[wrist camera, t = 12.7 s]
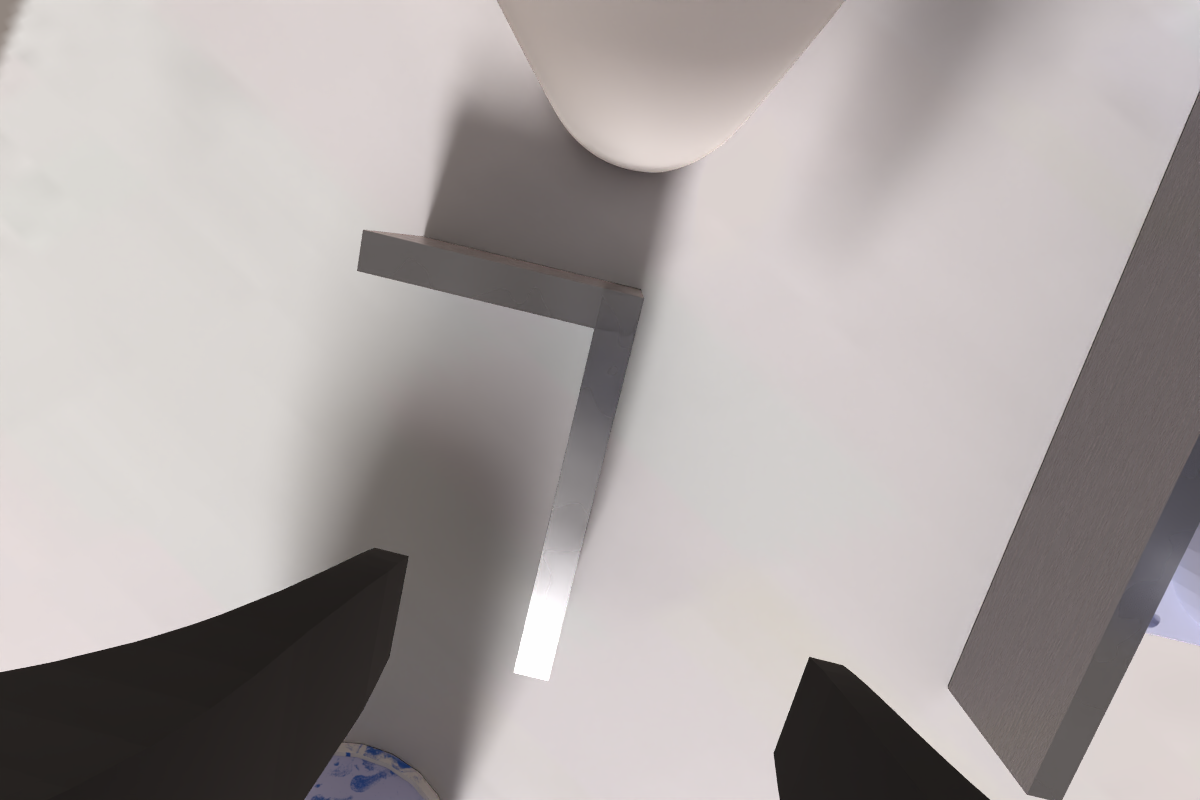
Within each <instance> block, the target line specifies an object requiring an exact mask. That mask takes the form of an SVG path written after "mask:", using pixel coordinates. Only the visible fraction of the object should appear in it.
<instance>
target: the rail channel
mask: <svg viewBox="0 0 1200 800" xmlns="http://www.w3.org/2000/svg"><path fill="white" fill-rule="evenodd" d="M357 271H360V272H364V273H368V274H372V275H377V276H381V277H385V278H389V279H393V280H397V281H401V282H405V283H410V284H414V285H418V286H422V287H426V288H430V289H434V290H438V291H443V292H447V293H451V294H455V295H459V296H463V297H467V298H471V299H476V300H480V301H484V302H488V303H492V304H496V305H500V306H504V307H509V308H513V309H517V310H521V311H525V312H529V313H533V314H537V315H542V316H546V317H550V318H554V319H558V320H562V321H566V322H570V323H575V324H579V325H583V326H587V327H591V328H595V329H594V333H593V338H592V342H591V346H590V350H589V355H588V359H587V363H586V367H585V372H584V376H583V380H582V384H581V389H580V393H579V397H578V401H577V406H576V410H575V414H574V418H573V423H572V427H571V431H570V435H569V440H568V444H567V448H566V452H565V457H564V461H563V465H562V469H561V474H560V478H559V482H558V486H557V491H556V495H555V499H554V503H553V508H552V512H551V516H550V521H549V525H548V529H547V533H546V538H545V542H544V546H543V550H542V555H541V559H540V563H539V567H538V572H537V576H536V580H535V584H534V589H533V593H532V597H531V601H530V606H529V610H528V614H527V618H526V623H525V627H524V631H523V635H522V640H521V644H520V648H519V652H518V657H517V661H516V665H515V669H514V673H518V674H522V675H526V676H530V677H535V678H539V679H543V680H547V681H548V679H549V675H550V671H551V667H552V664H553V660H554V656H555V652H556V648H557V644H558V640H559V636H560V632H561V628H562V624H563V620H564V616H565V612H566V608H567V604H568V600H569V596H570V592H571V588H572V584H573V580H574V576H575V572H576V568H577V564H578V560H579V556H580V552H581V548H582V544H583V540H584V536H585V532H586V528H587V524H588V520H589V516H590V512H591V508H592V504H593V500H594V496H595V492H596V488H597V484H598V480H599V476H600V472H601V468H602V464H603V460H604V456H605V452H606V448H607V444H608V440H609V436H610V432H611V428H612V424H613V420H614V416H615V412H616V408H617V404H618V400H619V396H620V392H621V388H622V384H623V380H624V376H625V372H626V368H627V364H628V360H629V356H630V352H631V348H632V344H633V340H634V336H635V332H636V328H637V324H638V320H639V316H640V312H641V308H642V304H643V300H644V297H643V294H642V291H641V289H637V288H633V287H629V286H625V285H621V284H617V283H612V282H608V281H604V280H600V279H596V278H592V277H588V276H584V275H580V274H575V273H571V272H567V271H563V270H559V269H555V268H551V267H547V266H543V265H538V264H534V263H530V262H526V261H522V260H518V259H514V258H510V257H506V256H501V255H497V254H493V253H489V252H485V251H481V250H477V249H473V248H469V247H464V246H460V245H456V244H452V243H448V242H444V241H440V240H436V239H432V238H427V237H423V236H415V235H406V234H397V233H388V232H379V231H370V230H363V234H362V241H361V248H360V255H359V262H358V269H357ZM1199 523H1200V93H1199V96H1198V98H1197V100H1196V103H1195V105H1194V107H1193V110H1192V112H1191V114H1190V117H1189V119H1188V122H1187V124H1186V126H1185V129H1184V131H1183V133H1182V136H1181V138H1180V140H1179V143H1178V145H1177V148H1176V150H1175V152H1174V155H1173V157H1172V159H1171V162H1170V164H1169V166H1168V169H1167V171H1166V174H1165V176H1164V178H1163V181H1162V183H1161V185H1160V188H1159V190H1158V192H1157V195H1156V197H1155V200H1154V202H1153V204H1152V207H1151V209H1150V211H1149V214H1148V216H1147V218H1146V221H1145V223H1144V226H1143V228H1142V230H1141V233H1140V235H1139V237H1138V240H1137V242H1136V244H1135V247H1134V249H1133V252H1132V254H1131V256H1130V259H1129V261H1128V263H1127V266H1126V268H1125V270H1124V273H1123V275H1122V277H1121V280H1120V282H1119V285H1118V287H1117V289H1116V292H1115V294H1114V296H1113V299H1112V301H1111V303H1110V306H1109V308H1108V311H1107V313H1106V315H1105V318H1104V320H1103V322H1102V325H1101V327H1100V329H1099V332H1098V334H1097V337H1096V339H1095V341H1094V344H1093V346H1092V348H1091V351H1090V353H1089V355H1088V358H1087V360H1086V363H1085V365H1084V367H1083V370H1082V372H1081V374H1080V377H1079V379H1078V381H1077V384H1076V386H1075V389H1074V391H1073V393H1072V396H1071V398H1070V400H1069V403H1068V405H1067V407H1066V410H1065V412H1064V415H1063V417H1062V419H1061V422H1060V424H1059V426H1058V429H1057V431H1056V433H1055V436H1054V438H1053V440H1052V443H1051V445H1050V448H1049V450H1048V452H1047V455H1046V457H1045V459H1044V462H1043V464H1042V466H1041V469H1040V471H1039V474H1038V476H1037V478H1036V481H1035V483H1034V485H1033V488H1032V490H1031V492H1030V495H1029V497H1028V500H1027V502H1026V504H1025V507H1024V509H1023V511H1022V514H1021V516H1020V518H1019V521H1018V523H1017V526H1016V528H1015V530H1014V533H1013V535H1012V537H1011V540H1010V542H1009V544H1008V547H1007V549H1006V552H1005V554H1004V556H1003V559H1002V561H1001V563H1000V566H999V568H998V570H997V573H996V575H995V578H994V580H993V582H992V585H991V587H990V589H989V592H988V594H987V596H986V599H985V601H984V603H983V606H982V608H981V611H980V613H979V615H978V618H977V620H976V622H975V625H974V627H973V629H972V632H971V634H970V637H969V639H968V641H967V644H966V646H965V648H964V651H963V653H962V655H961V658H960V660H959V663H958V665H957V667H956V670H955V672H954V674H953V677H952V679H951V681H950V684H949V686H948V689H949V691H950V692H951V693H952V695H953V696H954V697H955V699H956V700H957V701H958V703H959V704H960V705H961V707H962V708H963V709H964V711H965V712H966V713H967V715H968V716H969V717H970V719H971V720H972V722H973V723H974V724H975V726H976V727H977V728H978V730H979V731H980V732H981V734H982V735H983V736H984V738H985V739H986V740H987V742H988V743H989V744H990V746H991V747H992V748H993V750H994V751H995V752H996V754H997V755H998V756H999V758H1000V759H1001V761H1002V762H1003V763H1004V765H1005V766H1006V767H1007V769H1008V770H1009V771H1010V773H1011V774H1012V775H1013V777H1014V778H1015V779H1016V781H1017V782H1018V783H1019V785H1020V786H1021V787H1022V789H1023V790H1024V791H1025V793H1026V794H1027V795H1031V796H1035V797H1039V798H1044V799H1048V800H1062V799H1063V797H1064V795H1065V793H1066V791H1067V789H1068V787H1069V785H1070V783H1071V781H1072V779H1073V777H1074V775H1075V773H1076V771H1077V769H1078V767H1079V765H1080V763H1081V761H1082V759H1083V757H1084V755H1085V753H1086V751H1087V749H1088V747H1089V745H1090V743H1091V741H1092V739H1093V737H1094V735H1095V733H1096V731H1097V729H1098V727H1099V725H1100V722H1101V720H1102V718H1103V716H1104V714H1105V712H1106V710H1107V708H1108V706H1109V704H1110V702H1111V700H1112V698H1113V696H1114V694H1115V692H1116V690H1117V688H1118V686H1119V684H1120V682H1121V680H1122V678H1123V676H1124V674H1125V672H1126V670H1127V668H1128V666H1129V664H1130V662H1131V660H1132V658H1133V656H1134V654H1135V652H1136V650H1137V648H1138V646H1139V644H1140V642H1141V640H1142V638H1143V636H1144V634H1145V632H1146V630H1147V628H1148V626H1149V624H1150V622H1151V620H1152V618H1153V616H1154V614H1155V612H1156V610H1157V608H1158V606H1159V604H1160V602H1161V600H1162V598H1163V596H1164V594H1165V592H1166V590H1167V588H1168V586H1169V583H1170V581H1171V579H1172V577H1173V575H1174V573H1175V571H1176V569H1177V567H1178V565H1179V563H1180V561H1181V559H1182V557H1183V555H1184V553H1185V551H1186V549H1187V547H1188V545H1189V543H1190V541H1191V539H1192V537H1193V535H1194V533H1195V531H1196V529H1197V527H1198V525H1199Z"/></svg>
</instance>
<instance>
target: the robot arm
mask: <svg viewBox="0 0 1200 800" xmlns="http://www.w3.org/2000/svg"><path fill="white" fill-rule="evenodd" d="M408 557H409V556H405V555H401V554H397V553H393V552H389V551H385V550H381V549H377V548H373V549H371V550H368V551H366V552H364V553H361V554H359V555H357V556H355V557H353V558H351V559H349V560H346V561H344V562H342V563H340V564H338V565H336V566H334V567H332V568H330V569H327V570H325V571H323V572H321V573H319V574H317V575H314V576H312V577H310V578H308V579H306V580H303V581H301V582H299V583H297V584H295V585H292V586H290V587H288V588H286V589H284V590H281V591H279V592H276V593H274V594H271V595H269V596H266V597H264V598H261V599H259V600H256V601H254V602H251V603H249V604H246V605H244V606H241V607H239V608H237V609H234V610H232V611H229V612H227V613H224V614H221V615H219V616H216V617H213V618H210V619H207V620H204V621H201V622H199V623H196V624H193V625H190V626H187V627H183V628H180V629H177V630H174V631H170V632H167V633H164V634H161V635H157V636H154V637H151V638H148V639H144V640H140V641H137V642H133V643H129V644H125V645H121V646H117V647H113V648H109V649H105V650H101V651H96V652H92V653H88V654H84V655H80V656H76V657H72V658H68V659H64V660H60V661H55V662H51V663H46V664H41V665H36V666H31V667H26V668H21V669H15V670H10V671H5V672H0V800H304V799H305V798H306V796H307V795H308V793H309V792H310V790H311V789H312V787H313V786H314V784H315V783H316V781H317V780H318V778H319V777H320V775H321V774H322V772H323V771H324V769H325V768H326V766H327V765H328V763H329V762H330V760H331V759H332V757H333V755H334V754H335V752H336V751H337V749H338V748H339V746H340V745H341V743H342V742H343V740H344V739H345V737H346V736H347V734H348V732H349V731H350V729H351V728H352V726H353V725H354V723H355V722H356V720H357V719H358V717H359V715H360V714H361V712H362V711H363V709H364V707H365V705H366V703H367V701H368V699H369V697H370V695H371V693H372V691H373V689H374V687H375V685H376V683H377V681H378V679H379V677H380V675H381V673H382V671H383V669H384V667H385V665H386V663H387V661H388V659H389V656H390V651H391V646H392V641H393V635H394V630H395V625H396V620H397V615H398V609H399V604H400V599H401V594H402V589H403V583H404V578H405V573H406V568H407V562H408ZM1145 633H1148V634H1152V635H1156V636H1160V637H1164V638H1168V639H1173V640H1177V641H1181V642H1185V643H1189V644H1193V645H1197V646H1200V523H1199V525H1198V527H1197V529H1196V531H1195V533H1194V535H1193V537H1192V539H1191V541H1190V543H1189V545H1188V547H1187V549H1186V551H1185V553H1184V555H1183V557H1182V559H1181V561H1180V563H1179V565H1178V567H1177V569H1176V571H1175V573H1174V575H1173V577H1172V579H1171V581H1170V583H1169V586H1168V588H1167V590H1166V592H1165V594H1164V596H1163V598H1162V600H1161V602H1160V604H1159V606H1158V608H1157V610H1156V612H1155V614H1154V616H1153V618H1152V620H1151V622H1150V624H1149V626H1148V628H1147V630H1146V632H1145ZM774 760H775V768H776V776H777V784H778V791H779V797H780V800H990V799H989V798H987V797H986V796H985V795H984V794H983V793H982V792H981V791H979V790H978V789H977V788H976V787H975V786H974V785H973V784H971V783H970V782H969V781H968V780H967V779H966V778H965V777H964V776H963V775H962V774H960V773H959V772H958V771H957V770H956V769H955V768H954V767H953V766H952V765H951V764H949V763H948V762H947V761H946V760H945V759H944V758H943V757H942V756H941V755H940V754H939V753H938V752H937V751H936V750H934V749H933V748H932V747H931V746H930V745H929V744H928V743H927V742H926V741H925V740H924V739H923V738H922V737H921V736H920V735H919V734H918V733H917V732H916V731H914V730H913V729H912V728H911V727H910V726H909V725H908V724H907V723H906V722H905V721H904V720H903V719H902V718H901V717H900V716H899V715H898V714H897V713H896V712H895V711H894V710H893V709H892V708H890V707H889V706H888V705H887V704H886V703H885V702H884V701H883V700H882V699H881V698H880V697H879V696H878V695H877V694H876V693H875V692H874V691H872V690H871V689H870V688H869V687H868V686H867V685H866V684H865V683H864V682H863V681H862V680H860V679H859V678H858V677H857V676H856V675H855V674H853V673H852V672H851V671H850V670H848V669H847V668H846V667H845V666H843V665H839V664H835V663H831V662H827V661H823V660H819V659H815V658H811V657H809V659H808V662H807V665H806V667H805V670H804V673H803V676H802V678H801V681H800V684H799V686H798V689H797V692H796V694H795V697H794V700H793V702H792V705H791V708H790V711H789V713H788V716H787V719H786V721H785V724H784V727H783V729H782V732H781V735H780V737H779V740H778V743H777V746H776V748H775V751H774Z"/></svg>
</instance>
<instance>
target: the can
mask: <svg viewBox="0 0 1200 800" xmlns="http://www.w3.org/2000/svg"><path fill="white" fill-rule="evenodd" d="M497 1H498V3H499V5H500V7H501V9H502V11H503V13H504V15H505V17H506V19H507V21H508V23H509V25H510V27H511V29H512V31H513V33H514V35H515V37H516V39H517V41H518V43H519V44H520V46H521V48H522V50H523V52H524V54H525V56H526V58H527V60H528V62H529V64H530V66H531V68H532V70H533V72H534V73H535V75H536V77H537V79H538V81H539V83H540V85H541V87H542V89H543V91H544V92H545V94H546V96H547V98H548V100H549V102H550V104H551V105H552V107H553V109H554V111H555V112H556V114H557V116H558V117H559V119H560V120H561V122H562V124H563V125H564V126H565V128H566V129H567V130H568V132H569V133H570V134H571V135H572V136H573V137H574V138H575V139H576V140H577V141H578V142H579V143H580V144H581V145H582V146H583V147H584V148H586V149H587V150H588V151H589V152H591V153H592V154H594V155H595V156H597V157H598V158H600V159H602V160H604V161H606V162H608V163H610V164H613V165H615V166H618V167H621V168H625V169H629V170H634V171H640V172H650V173H658V172H666V171H671V170H675V169H678V168H681V167H684V166H687V165H689V164H691V163H694V162H696V161H698V160H699V159H701V158H703V157H705V156H706V155H708V154H710V153H711V152H713V151H714V150H716V149H717V148H719V147H720V146H721V145H723V144H724V143H725V142H726V141H727V140H729V139H730V138H731V137H732V136H733V135H734V134H735V133H736V132H737V131H738V129H739V128H740V127H741V126H742V125H743V124H744V123H745V122H746V120H747V119H748V118H749V117H750V116H751V115H752V113H753V112H754V111H755V110H756V109H757V108H758V106H759V105H760V104H761V103H762V102H763V100H764V99H765V98H766V97H767V96H768V94H769V93H770V92H771V91H772V90H773V88H774V87H775V86H776V85H777V84H778V82H779V81H780V80H781V79H782V78H783V76H784V75H785V74H786V73H787V72H788V70H789V69H790V68H791V67H792V65H793V64H794V63H795V62H796V61H797V59H798V58H799V57H800V56H801V55H802V53H803V52H804V51H805V50H806V48H807V47H808V46H809V45H810V44H811V42H812V41H813V40H814V39H815V37H816V36H817V35H818V34H819V32H820V31H821V30H822V29H823V28H824V26H825V25H826V24H827V23H828V21H829V20H830V19H831V18H832V16H833V15H834V14H835V13H836V11H837V10H838V9H839V8H840V6H841V5H842V4H843V3H844V1H845V0H497Z"/></svg>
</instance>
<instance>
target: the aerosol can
mask: <svg viewBox="0 0 1200 800" xmlns="http://www.w3.org/2000/svg"><path fill="white" fill-rule="evenodd" d="M304 800H440V799H439V797H438V795H437V794H436V792H435V791H434V790H433V789H432V787H431V786H430V785H429V784H428V783H427V781H426V780H425V779H424V778H423V777H422V775H421V774H420V773H419V772H418V771H416V770H415V769H413V768H412V767H410V766H409V765H407V764H406V763H405V762H403V761H402V760H400V759H399V758H397V757H396V756H394V755H392V754H390V753H387V752H384V751H381V750H378V749H375V748H372V747H370V746H367V745H364V744H355V743H341V745H340V746H339V748H338V749H337V751H336V752H335V754H334V755H333V757H332V759H331V760H330V762H329V763H328V765H327V766H326V768H325V769H324V771H323V772H322V774H321V775H320V777H319V778H318V780H317V781H316V783H315V784H314V786H313V787H312V789H311V790H310V792H309V793H308V795H307V796H306V798H305V799H304Z"/></svg>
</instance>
